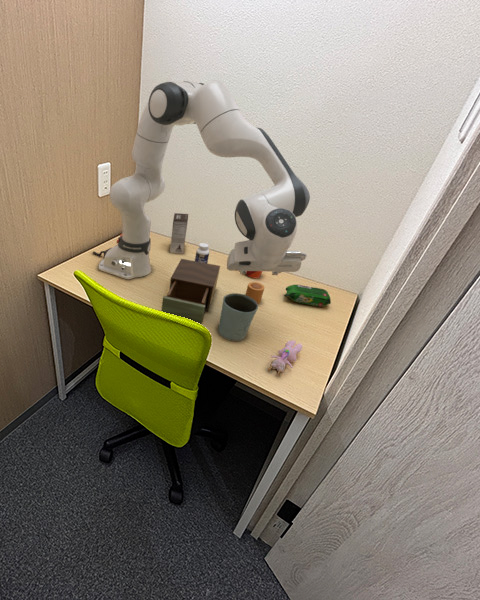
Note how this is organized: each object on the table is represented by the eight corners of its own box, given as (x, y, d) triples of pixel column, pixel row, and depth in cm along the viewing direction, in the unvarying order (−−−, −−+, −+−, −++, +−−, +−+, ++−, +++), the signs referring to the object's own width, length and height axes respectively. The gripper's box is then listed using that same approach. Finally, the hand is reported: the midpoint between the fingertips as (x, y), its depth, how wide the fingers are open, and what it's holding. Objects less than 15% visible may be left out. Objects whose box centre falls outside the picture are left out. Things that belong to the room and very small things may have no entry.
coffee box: (170, 244, 163) (174, 212, 154) (184, 245, 162) (188, 213, 153) (169, 252, 156) (173, 219, 147) (183, 254, 155) (188, 220, 146)
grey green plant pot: (214, 321, 113) (220, 292, 106) (245, 323, 112) (253, 294, 106) (219, 341, 105) (226, 310, 98) (252, 344, 104) (262, 313, 97)
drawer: (198, 337, 105) (202, 314, 100) (157, 326, 110) (159, 304, 105) (208, 305, 120) (212, 284, 115) (171, 297, 124) (174, 276, 119)
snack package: (281, 292, 128) (285, 280, 125) (327, 299, 124) (332, 288, 121) (282, 302, 123) (286, 290, 120) (330, 310, 119) (336, 298, 116)
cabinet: (208, 312, 118) (213, 286, 112) (167, 302, 123) (170, 277, 116) (215, 289, 130) (220, 265, 124) (178, 282, 134) (181, 258, 128)
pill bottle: (196, 268, 143) (199, 248, 137) (192, 262, 147) (195, 242, 142) (208, 268, 144) (212, 247, 138) (204, 262, 148) (207, 241, 142)
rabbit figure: (282, 382, 93) (307, 351, 100) (287, 369, 89) (312, 337, 96) (261, 370, 97) (286, 340, 104) (265, 357, 93) (290, 327, 100)
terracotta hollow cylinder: (243, 302, 123) (247, 286, 119) (244, 294, 127) (249, 278, 123) (259, 306, 121) (264, 289, 117) (260, 298, 125) (265, 282, 121)
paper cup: (256, 281, 135) (266, 249, 127) (239, 274, 140) (247, 243, 132) (266, 275, 139) (276, 244, 131) (249, 268, 144) (257, 237, 136)
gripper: (308, 242, 92) (294, 264, 105) (229, 242, 97) (225, 263, 110) (309, 263, 90) (294, 282, 103) (229, 261, 95) (225, 280, 108)
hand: (258, 272), depth 107 cm, fingers open, 8 cm apart
